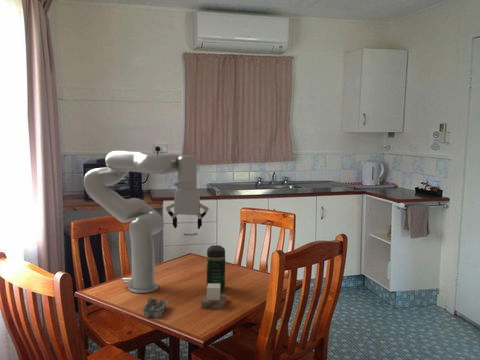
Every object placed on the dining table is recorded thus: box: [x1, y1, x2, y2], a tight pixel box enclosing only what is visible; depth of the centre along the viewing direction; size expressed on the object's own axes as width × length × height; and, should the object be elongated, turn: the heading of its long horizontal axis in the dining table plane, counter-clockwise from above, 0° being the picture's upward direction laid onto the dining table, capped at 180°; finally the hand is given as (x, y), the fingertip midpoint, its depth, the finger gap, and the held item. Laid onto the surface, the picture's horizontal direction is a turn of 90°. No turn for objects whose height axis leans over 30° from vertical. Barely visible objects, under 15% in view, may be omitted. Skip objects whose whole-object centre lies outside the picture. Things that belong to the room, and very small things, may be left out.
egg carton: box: [142, 296, 168, 319], centre depth 167 cm, size 11×8×4 cm
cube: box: [206, 283, 221, 301], centre depth 174 cm, size 5×5×5 cm
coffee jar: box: [206, 244, 226, 292], centre depth 191 cm, size 10×8×19 cm
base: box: [200, 293, 228, 310], centre depth 175 cm, size 9×9×3 cm
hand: (187, 227), depth 181 cm, fingers open, 9 cm apart
